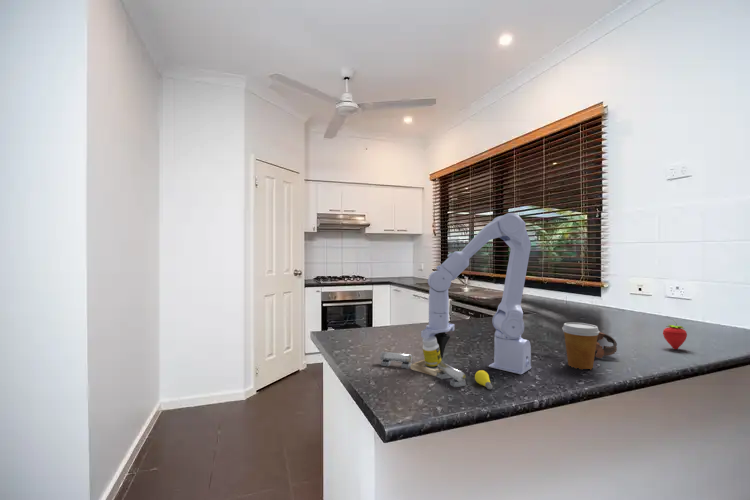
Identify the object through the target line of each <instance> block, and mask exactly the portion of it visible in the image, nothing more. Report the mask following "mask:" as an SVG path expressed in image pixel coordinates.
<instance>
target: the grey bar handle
mask: <svg viewBox="0 0 750 500" xmlns="http://www.w3.org/2000/svg"><path fill="white" fill-rule="evenodd" d="M379 356H380V357H379V358H380V361H381V367H389V366H390V365H391V364H392V362H394V363H395V362H396V363H397V362H398V363H401V369H405V370H406V369H407V370H409V368H411V364H413V354H409V353H399V352H389V351H380V355H379Z"/></svg>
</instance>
